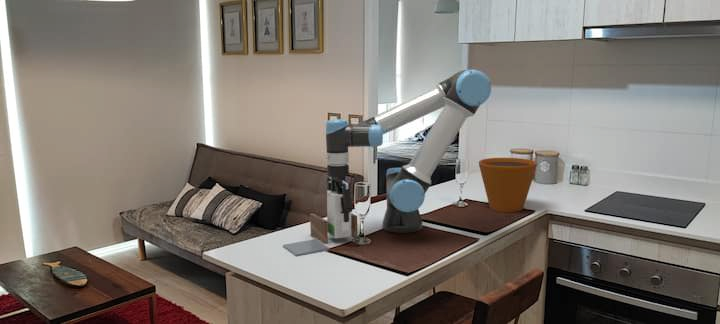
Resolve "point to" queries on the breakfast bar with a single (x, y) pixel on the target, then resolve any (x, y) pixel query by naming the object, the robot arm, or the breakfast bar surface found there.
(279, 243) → the breakfast bar surface
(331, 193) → the skincare box
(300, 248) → the slate coaster
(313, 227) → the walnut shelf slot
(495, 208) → the flower pot
